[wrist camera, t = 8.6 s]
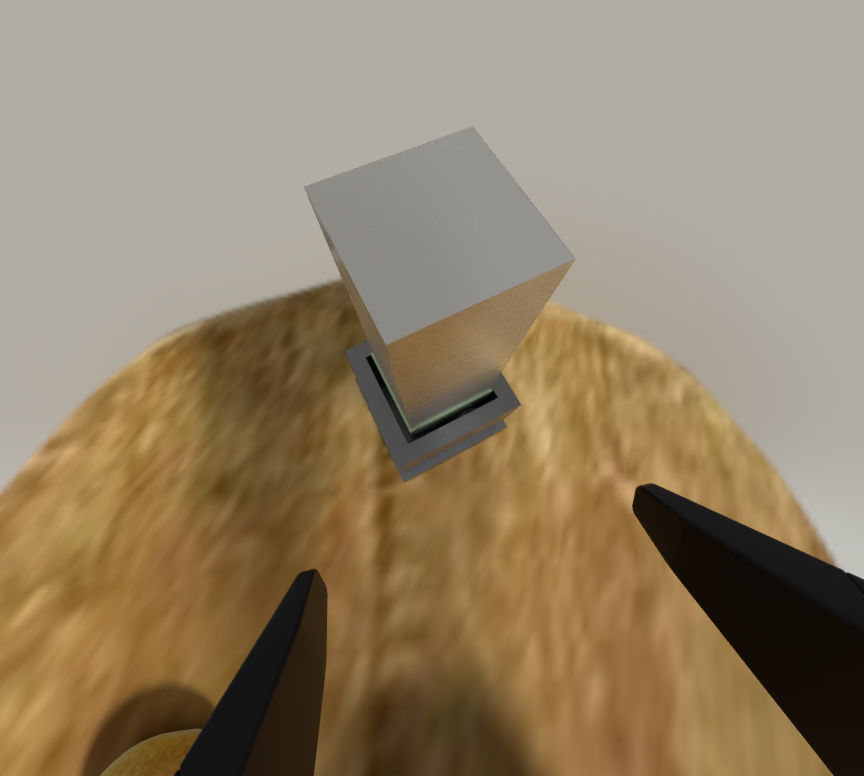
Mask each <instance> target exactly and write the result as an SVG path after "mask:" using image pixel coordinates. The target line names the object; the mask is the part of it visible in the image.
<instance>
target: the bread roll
mask: <svg viewBox="0 0 864 776" xmlns="http://www.w3.org/2000/svg"><path fill="white" fill-rule="evenodd" d="M201 730H202V729H197V728H196V729H189V730H182V731H174V732H169V733H163V734H160V735H157V736H154V737H151V738H149V739H146V740H144V741H142V742H140V743H138V744H137V745H135V746H133V747H131V748H130V749H128V750H127V751H126V752H124V753H123V754H122V755H121V756H120V757H119V758H117V759H116V760H115V761H114V762H113V763H112V764H111V765H110V766H109V767H108V768H107V769H106V770H105V771H104V772H103V773H102V774H101V775H100V776H173V775H174V773H175V772H176V771H177V770H179V768H180V764H181V762H182V761H183V759H184V757H185V756H186V754H187V753H188V751H189V749H190V748H191V746H192V745H193V743H194V741H195V740H196V738H197V737H198V735H199V733H200V732H201Z"/></svg>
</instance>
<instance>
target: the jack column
mask: <svg viewBox="0 0 864 776" xmlns="http://www.w3.org/2000/svg"><path fill="white" fill-rule="evenodd" d="M304 188H305V190H306V193H307V195H308V198H309V200H310V202H311V205H312V207H313V210H314V212H315V214H316V217H317V219H318V222H319V224H320V226H321V229H322V231H323V234H324V236H325V238H326V241H327V243H328V246H329V248H330V250H331V253H332V255H333V258H334V260H335V263H336V265H337V267H338V270H339V272H340V275H341V277H342V280H343V282H344V284H345V287H346V289H347V292H348V294H349V296H350V299H351V301H352V304H353V306H354V308H355V311H356V313H357V316H358V318H359V320H360V323H361V325H362V328H363V330H364V333H365V335H366V337H367V340H368V342H369V345H370V347H371V349H372V352H373V353H371V355H372V358H373V360H374V362H375V364H376V366H377V368H378V370H379V372H380V374H381V376H382V378H383V380H384V382H385V384H386V386H387V388H388V390H389V392H390V394H391V396H392V398H393V400H394V402H395V404H396V406H397V408H398V410H399V412H400V414H401V416H402V418H403V420H404V422H405V424H406V426H407V428H408V430H409V432H410V434H411V435H413V437H415V436H417V435H419V434H421V433H423V432H425V431H427V430H429V429H431V428H433V427H435V426H437V425H439V424H441V423H443V422H445V421H447V420H448V419H450V418H452V417H454V416H456V415H458V414H460V413H462V412H464V411H466V410H468V409H470V408H472V407H474V406H476V405H478V404H480V403H481V402H482V401H483V399H484V398H485V397H487V396H489V395H490V394H491V392H492V391H493V390H492V389H491V387H492V386H493V384H494V383H495V381H496V379H497V378H498V376H499V375H500V373H501V372H502V370H503V369H504V367H505V366H506V364H507V363H508V361H509V360H510V358H511V357H512V355H513V354H514V352H515V351H516V349H517V348H518V346H519V344H520V343H521V341H522V340H523V338H524V337H525V335H526V334H527V332H528V331H529V329H530V328H531V326H532V325H533V323H534V322H535V320H536V319H537V317H538V316H539V314H540V312H541V311H542V309H543V308H544V306H545V305H546V303H547V302H548V300H549V299H550V297H551V296H552V294H553V293H554V291H555V290H556V288H557V286H558V285H559V284H560V282H561V280H562V279H563V277H564V276H565V274H566V273H567V271H568V270H569V268H570V267H571V265H572V264H573V262H574V261H575V259H576V258H575V257H574V256H573V254H572V253H571V252H570V250H569V249H568V248H567V247H566V245H565V244H564V243H563V241H562V240H561V239H560V238H559V236H558V235H557V234H556V232H555V231H554V230H553V229H552V228H551V226H550V225H549V223H548V222H547V221H546V220H545V218H544V217H543V216H542V214H541V213H540V212H539V211H538V210H537V208H536V207H535V205H534V204H533V203H532V202H531V201H530V199H529V198H528V196H527V195H526V194H525V193H524V191H523V190H522V189H521V187H520V186H519V185H518V184H517V182H516V181H515V180H514V178H513V177H512V176H511V175H510V173H509V172H508V171H507V169H506V168H505V167H504V166H503V164H502V163H501V162H500V161H499V159H498V158H497V157H496V156H495V154H494V153H493V152H492V150H491V149H490V148H489V146H488V145H487V144H486V143H485V142H484V140H483V139H482V137H481V136H480V135H479V134H478V132H477V131H476V130H475V128H474V127H470V128H467V129H464V130H461V131H459V132H456V133H453V134H450V135H447V136H445V137H442V138H439V139H436V140H434V141H431V142H428V143H425V144H422V145H419V146H417V147H414V148H411V149H409V150H406V151H403V152H400V153H397V154H394V155H392V156H389V157H386V158H383V159H381V160H378V161H375V162H372V163H369V164H367V165H364V166H361V167H358V168H355V169H352V170H350V171H347V172H344V173H341V174H338V175H336V176H333V177H330V178H327V179H324V180H322V181H319V182H316V183H313V184H311V185H308V186H305V187H304Z"/></svg>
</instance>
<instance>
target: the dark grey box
mask: <svg viewBox="0 0 864 776" xmlns="http://www.w3.org/2000/svg"><path fill="white" fill-rule="evenodd" d="M344 352H345V354H346V356H347V358H348V360H349V362H350V364H351V366H352V368H353V371H354V373H355V375H356V377H357V379H356V381H357V384H358V386H359V388H360V390H361V392H362V394H363V396H364V398H365V401H366V403H367V405H368V407H369V409H370V411H371V413H372V415H373V418H374V420H375V422H376V424H377V426H378V428H379V430H380V432H381V435H382V437H383V439H384V441H385V443H386V445H387V447H388V449H389V452H390V454H391V456H392V458H393V460H394V462H395V464H396V466H397V469H398V471H399V473H400V475H401V477H402V479H403V481H404V482H407V481H409V480H411V479H413V478H415V477H417V476H419V475H421V474H422V473H424V472H426V471H428V470H430V469H432V468H434V467H436V466H437V465H439V464H441V463H443V462H445V461H447V460H449V459H451V458H452V457H454V456H456V455H458V454H460V453H462V452H464V451H466V450H467V449H469V448H471V447H473V446H475V445H477V444H479V443H481V442H482V441H484V440H486V439H488V438H490V437H492V436H494V435H496V434H497V433H499V432H501V431H502V430H504V429H505V428H506V427H507V426H506V424H505V423H504V421H503V420H504V419H505V418H506V417H507V416H509V415H510V414H511V413H512V412H513V411H515V410H516V409H517V408H518V407H519V406H520V405H521V404H520V402H519V400H518V399H517V397H516V396H515V394H514V392H513V391H512V389H511V388H510V386H509V384H508V383H507V381H506V379H505V378H504V376H503V375H502V373H500V375H499V376H498V378H497V379H496V381H495V383H494V384H493V386H492V387H491V389H492V390H493V391H492V392H491V394H490V395H489V396H487V397H485V398H484V399H483V401H482V402H481V403H480V404H478V405H476V406H474V407H472V408H470V409H468V410H466V411H464V412H462V413H460V414H458V415H456V416H454V417H452V418H450V419H448V420H447V421H445V422H443V423H441V424H439V425H437V426H435V427H433V428H431V429H429V430H427V431H425V432H423V433H421V434H419V435H417V436H415V437H413V435H411V434H410V432H409V430H408V428H407V426H406V424H405V422H404V420H403V418H402V416H401V414H400V412H399V410H398V408H397V406H396V404H395V402H394V400H393V398H392V396H391V394H390V392H389V390H388V388H387V386H386V384H385V382H384V380H383V378H382V376H381V374H380V372H379V370H378V368H377V366H376V364H375V362H374V360H373V358H372V355H371V353H373V352H372V349H371V347H370V345H369V342H368V340H367V341H365V342H363V343H361V344H358V345H356V346H354V347H352V348H349V349H347V350H345V351H344ZM504 368H505V367H504ZM502 371H503V370H502Z"/></svg>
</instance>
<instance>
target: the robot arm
mask: <svg viewBox="0 0 864 776" xmlns="http://www.w3.org/2000/svg"><path fill="white" fill-rule="evenodd" d="M632 508H633V512H634V514H635V516H636V517H637V519H638V520H639V522H640V523H641V525H642V526H643V528H644V529H645V531H646V532H647V534H648V535H649V537H650V539H651V540H652V542H653V543H654V545H655V546H656V548H657V549H658V551H659V552H660V554H661V555H662V557H663V558H664V560H665V561H666V563H667V564H668V565H669V567H670V568H671V570H672V571H673V572H674V574H675V575H676V576H677V578H678V579H679V580H680V581H681V583H682V584H683V585H684V586H685V588H686V589H687V590H688V591H689V593H690V594H691V595H692V597H693V598H694V599H695V600H696V602H697V603H698V604H699V605H700V607H701V608H702V609H703V610H704V612H705V613H706V614H707V616H708V617H709V618H710V619H711V621H712V622H713V623H714V624H715V626H716V627H717V628H718V630H719V631H720V632H721V633H722V635H723V636H724V637H725V638H726V640H727V641H728V642H729V643H730V645H731V646H732V647H733V649H734V650H735V651H736V652H737V654H738V655H739V656H740V657H741V659H742V660H743V661H744V662H745V664H746V665H747V666H748V668H749V669H750V670H751V671H752V673H753V674H754V675H755V676H756V678H757V679H758V680H759V682H760V683H761V684H762V685H763V687H764V688H765V689H766V690H767V692H768V693H769V694H770V695H771V697H772V698H773V699H774V701H775V702H776V703H777V704H778V706H779V707H780V708H781V709H782V711H783V712H784V713H785V714H786V716H787V717H788V718H789V720H790V721H791V722H792V723H793V725H794V726H795V727H796V728H797V730H798V731H799V732H800V734H801V735H802V736H803V737H804V739H805V740H806V741H807V742H808V744H809V745H810V746H811V747H812V749H813V750H814V751H815V753H816V754H817V755H818V756H819V758H820V759H821V760H822V761H823V763H824V764H825V765H826V766H827V768H828V769H829V770H830V772H831V773H832V774H833V775H834V776H864V579H862V578H859V577H857V576H855V575H853V574H851V573H845V572H844V571H843V570H842V569H840V568H837V567H835V566H833V565H831V564H829V563H826V562H824V561H822V560H820V559H818V558H815V557H813V556H811V555H809V554H807V553H805V552H802V551H800V550H798V549H796V548H794V547H791V546H789V545H787V544H785V543H783V542H780V541H778V540H776V539H774V538H772V537H769V536H767V535H765V534H763V533H761V532H759V531H756V530H754V529H752V528H750V527H748V526H745V525H743V524H741V523H739V522H737V521H734V520H732V519H730V518H728V517H726V516H724V515H721V514H719V513H717V512H715V511H713V510H710V509H708V508H706V507H704V506H702V505H699V504H697V503H695V502H693V501H691V500H689V499H686V498H684V497H682V496H680V495H678V494H675V493H673V492H671V491H669V490H667V489H664V488H662V487H660V486H658V485H656V484H652V483H649V484H644V485H641V486H638V487H637V488H636V490H635V495H634V500H633V505H632ZM326 647H327V588H326V585H325V583H324V581H323V580H322V578H321V576H320V574H319V572H318V570H316V569H310V570H307V571H303V572H301V573H299V574H298V576H297V577H296V579H295V580H294V582H293V584H292V585H291V587H290V588H289V590H288V592H287V593H286V595H285V596H284V598H283V600H282V601H281V603H280V604H279V606H278V608H277V609H276V611H275V613H274V614H273V616H272V617H271V619H270V621H269V622H268V624H267V625H266V627H265V629H264V630H263V632H262V633H261V635H260V637H259V638H258V640H257V641H256V643H255V645H254V646H253V648H252V650H251V651H250V653H249V654H248V656H247V658H246V659H245V661H244V662H243V664H242V666H241V667H240V669H239V670H238V672H237V674H236V675H235V677H234V679H233V680H232V682H231V683H230V685H229V687H228V688H227V690H226V691H225V693H224V695H223V696H222V698H221V699H220V701H219V703H218V704H217V706H216V708H215V709H214V711H213V712H212V714H211V716H210V717H209V719H208V720H207V722H206V724H205V725H204V727H203V728H202V730H201V732H200V733H199V735H198V737H197V738H196V740H195V741H194V743H193V745H192V746H191V748H190V749H189V751H188V753H187V754H186V756H185V757H184V759H183V761H182V762H181V764H180V768H179V770H177V771H176V772H175V773H174V775H173V776H314V769H315V760H316V751H317V742H318V733H319V724H320V715H321V706H322V698H323V689H324V680H325V669H326Z"/></svg>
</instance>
